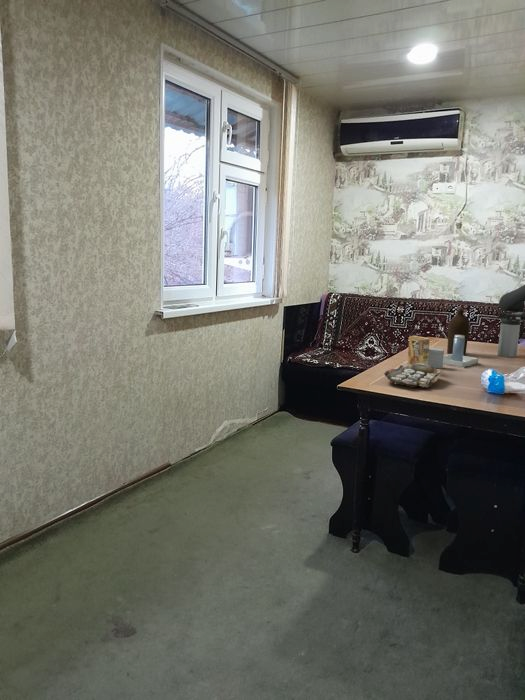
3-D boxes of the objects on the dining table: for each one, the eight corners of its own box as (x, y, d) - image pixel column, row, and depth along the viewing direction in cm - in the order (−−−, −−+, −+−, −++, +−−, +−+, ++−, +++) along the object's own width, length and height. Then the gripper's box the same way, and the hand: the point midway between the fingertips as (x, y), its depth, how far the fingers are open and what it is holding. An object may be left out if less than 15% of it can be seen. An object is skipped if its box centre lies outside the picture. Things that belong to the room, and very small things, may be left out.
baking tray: (431, 395, 202) (433, 381, 201) (377, 386, 212) (378, 373, 211) (446, 378, 228) (448, 366, 226) (397, 371, 238) (398, 359, 237)
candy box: (427, 371, 239) (430, 338, 236) (421, 372, 237) (424, 338, 234) (412, 367, 247) (415, 335, 244) (406, 368, 244) (408, 335, 241)
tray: (450, 358, 270) (451, 353, 269) (477, 363, 260) (478, 358, 259) (435, 362, 259) (436, 357, 258) (463, 367, 249) (463, 362, 248)
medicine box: (442, 367, 249) (444, 349, 248) (441, 369, 245) (443, 350, 244) (425, 365, 252) (427, 347, 251) (424, 367, 248) (425, 349, 247)
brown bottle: (452, 356, 277) (457, 308, 272) (442, 352, 287) (446, 306, 282) (470, 355, 279) (475, 308, 274) (459, 351, 289) (463, 306, 284)
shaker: (454, 360, 263) (457, 334, 260) (464, 362, 259) (466, 335, 257) (449, 361, 259) (452, 335, 257) (459, 363, 256) (462, 336, 253)
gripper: (546, 309, 234) (508, 305, 245) (535, 311, 224) (496, 307, 235) (544, 325, 236) (507, 321, 247) (533, 328, 226) (494, 324, 237)
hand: (502, 314), depth 241 cm, fingers open, 8 cm apart
